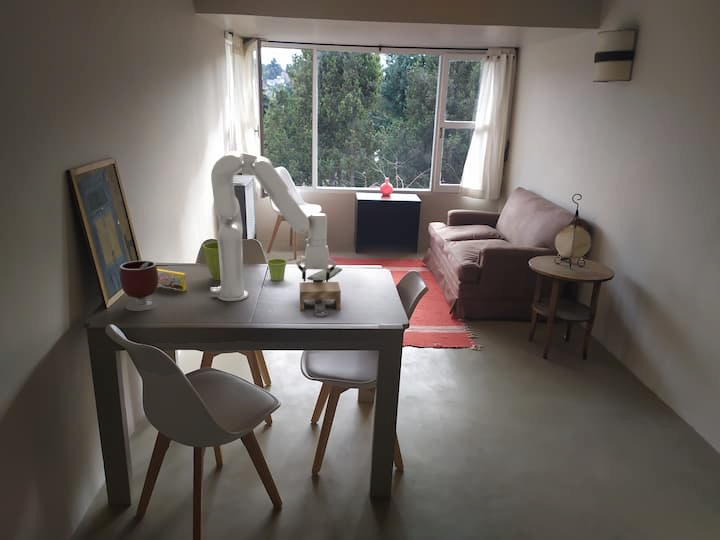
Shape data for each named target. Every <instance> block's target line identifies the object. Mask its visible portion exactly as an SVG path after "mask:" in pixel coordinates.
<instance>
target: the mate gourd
mask: <svg viewBox="0 0 720 540" xmlns="http://www.w3.org/2000/svg"><path fill="white" fill-rule="evenodd" d="M157 269H158V268H157V264H156V262H155V261H152V260H134V261H127V262H124V263H122V264H120V270H119V283H120V285H121V289H122V290H123V292H124V294H126V295H127V296H128V297H130V298H134V299H135V298H136V301H137V304H138V305H140V306H142V305H144V306H148V305H151V304H152V302H151V301H146V299H147V297H149V296H152V295H153V294H154V293H155V291H156V290H157V289H158V287H157V286H158V271H157ZM144 306H142V307H144Z"/></svg>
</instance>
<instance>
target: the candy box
mask: <svg viewBox="0 0 720 540" xmlns="http://www.w3.org/2000/svg"><path fill="white" fill-rule="evenodd" d="M157 271H158V285H161V286H165V287H171V288H176V289H180V290H186V289H187V280H186V273H185V272H180V271H179V272H178V271H175V270H174V271H173V270H172V271H171V270H168V269H167V270H166V269H161V268H157Z"/></svg>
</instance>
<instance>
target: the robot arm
mask: <svg viewBox="0 0 720 540" xmlns="http://www.w3.org/2000/svg"><path fill="white" fill-rule="evenodd" d="M211 169H212V170H211V173H210V174H211V175H210V177H211V178H210V180H211V188H212V197H213V203H214V206H213V207H214V212H215V214H216V216H217V218H218V219H217V220H218V227H219V229H218V231H217V242H218V248H219V262H220V279H221V280H220V286H218V287H217V286H214V287H213V286H211V287H210V293H212V294H217V298H218V300H220V301H225V302H234V301H235V302H237V301H243V300H245V299H246V298H248V297H249V293H248V291H247V290H245V278H244V277H245V276H244V257H243V234H244V233H243V232H244V229H243V228H244V227H243V221H242V220H243V219H242V214H241V206H240V203H239V202H240V201H239V199H238V197H236V192H235V185H234V177H235V175H238V173H240V174H245V175H248V176H254V178H255V180H256V181H257V182H258V183H259V185H260V186H261V188H262V189H263V190H264V192H265V193H266V194H267V196H268V197H269V199H270V200H271V201H272V203H273V204H274V206H275V207H276V209H278V211H279V212H280V214H281V216H282V217H283V218H284V219H285V221H286V222H287V223H288V225H289V226H290V228H291V229H292V230H293V231H294V232H296V233H297V234H304V233H306V232H308V237H307V239H304V243H307V244H306V247H305V252H304V257H303V258H301V259H299V260H296V261H295V264H296V266H297V268H298V269H299V270H300V272H301V273H302V274H301V279H302V280H303V282H307V281H306V279H307V275H306V274H307V272H306V271H308V270H319V271H320V270H321V271H322V270H326V271H327V272H326V281H325V282H329V280H330V278H331V277H330V273H331V271H333V270H334V268H336V267H337V265H338V264H337V262H336V261H334V260H333V259H331V258H330V257H329V256H330V255H329V254H330V253H329V251H330V250H329V247H328V245H327V236H328V215H327V214H326V213H323V212H309V211H303V210H302V209H301V207H300V206H299V204H298V202H297V201H296V199H295V198H294V196H293V193H292V192H291V190H290V188H289V186H288V185H287V184H286V182H285V181H284V179H283V178H282V177H281V176H280V174H279V173H278V172H277V170H276V168H275V167H274V165H273V163H272V161H271V160H270V159H269V158H267V157H265V156H260V155H256V154H251V153H248V152H243V151H238V150H231V151H228V152H227V153H225V154H223V156H222V157H220V158H219V159H218V160H217V161H216V162H215V164H214V165H213V167H212V168H211ZM302 263H304V266H302V265H301V264H302ZM329 263H330V264H331V266H330V267H329V265H330V264H329Z"/></svg>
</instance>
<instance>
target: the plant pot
mask: <svg viewBox="0 0 720 540" xmlns="http://www.w3.org/2000/svg"><path fill="white" fill-rule="evenodd" d="M266 263H267V265H268V270H269V275H270V276H269V277H270V280H271V281H275V282H276V281H280V280H281V281H284V280H285V273H286V266H287V263H288V260H286V259H284V258H271V259H267V260H266Z"/></svg>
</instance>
